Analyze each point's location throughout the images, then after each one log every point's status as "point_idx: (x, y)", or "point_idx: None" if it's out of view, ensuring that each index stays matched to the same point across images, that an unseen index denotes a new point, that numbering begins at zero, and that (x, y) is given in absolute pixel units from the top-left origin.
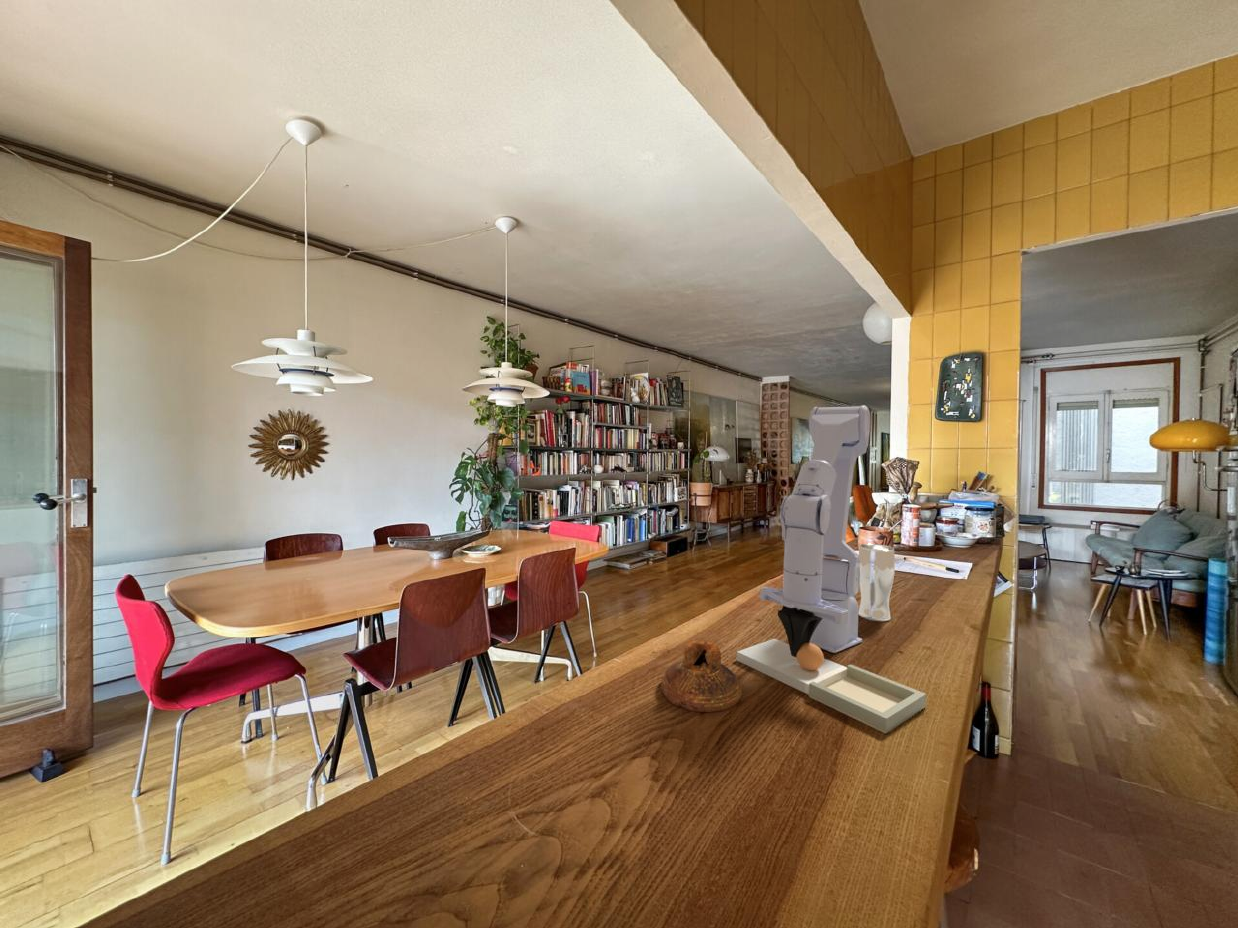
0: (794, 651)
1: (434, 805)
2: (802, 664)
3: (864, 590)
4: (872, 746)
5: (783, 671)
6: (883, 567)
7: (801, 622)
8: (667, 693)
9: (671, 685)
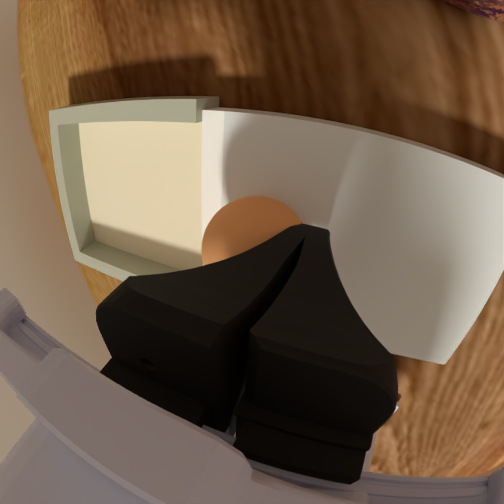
0: (303, 229)
1: None
2: (268, 197)
3: None
4: (70, 50)
5: (327, 136)
6: None
7: (131, 281)
8: None
9: None
